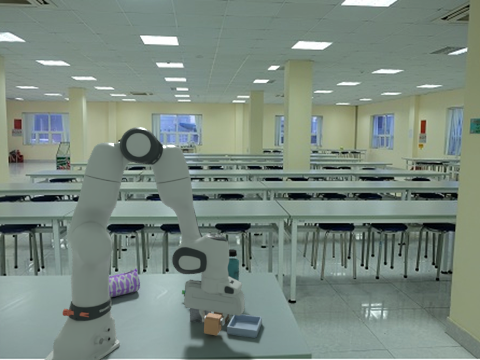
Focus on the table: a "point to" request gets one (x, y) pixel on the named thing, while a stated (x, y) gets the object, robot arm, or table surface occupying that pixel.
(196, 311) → the box
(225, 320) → the walnut block
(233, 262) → the beverage bottle
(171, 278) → the table surface
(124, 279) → the pencil case
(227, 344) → the table surface
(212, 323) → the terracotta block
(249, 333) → the tray
